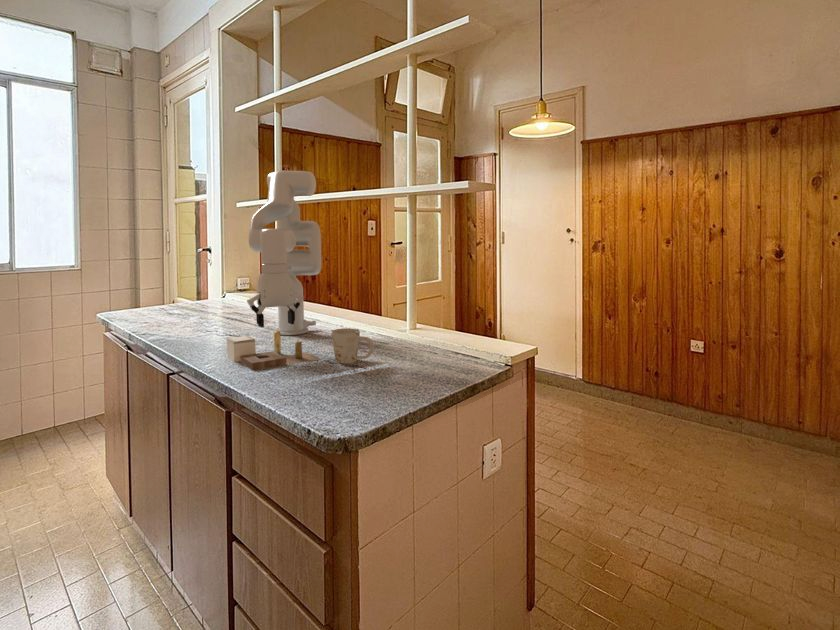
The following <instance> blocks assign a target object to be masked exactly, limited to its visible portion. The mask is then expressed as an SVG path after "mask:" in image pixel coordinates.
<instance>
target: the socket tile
mask: <svg viewBox="0 0 840 630" xmlns="http://www.w3.org/2000/svg"><path fill="white" fill-rule="evenodd" d="M284 356H285V355H282V354H278V353H276V352H274V351H273V350H271V351H265V352H258V353H257V352H256V354H250V355H243V356H240V361H239V362H240V363H241V365H244V366H245V367H247V368H248V369H249V370H251V371H256V370H257V371H258V370H262V369H270V368H275V367H281V366H287V364H288V363H287V359H286V357H284Z"/></svg>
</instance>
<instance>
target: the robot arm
mask: <svg viewBox="0 0 840 630" xmlns="http://www.w3.org/2000/svg"><path fill="white" fill-rule="evenodd" d="M316 181H317V180H316V177H315V175H314V173H313V172H312V171H308V170H307V171H305V170H277V171H273V172H270V173H269V174H268V175H267V177H266V183H267V188H268V189H267V190H268V191H267V200H266V204H264V205H263V206H261V208H259V209H258V210H257V211H256V212H255V213H254V214H253V216H252V217H251V219H250V223H249V231H248V245H249V248H250V249H251V250H252V251H253V252H255V253H260V262H261V263H260V265H261V274H258V277H257V278H258V279H257V285H256V294H255V295H253V296H251V297H250V298H248V299H246V303H247V304H248V306H249V308H250V309H251V310H252V311H253V312H254V313H255V314H256V316H255V317H256V325H257V326H258V327H260V328H264V326H265V318H264V317H265V315H264V314H263V312H264V311H265V310H266V308H277V310H278V311H277V313H278V314H277V315H278V327H277V328H274V331H280V335H281V336H297V335H304V334H306V333H309V326H311V327H312V326H316V325H317V321H316V320H307V319H305V310H304V309H305V308H304V306H305V305H304V287H303V284H302V282H301V281H300V280H299V279H298V278H297V277H296V276H316V275H319V274H320V273H321V271H322V234H321V232H322V231H321V229H320V226H319V224H318V222H316V221H313V220H301V207H300V206H299V205H300V204H298V202H297V201H296V200H295V197H311V196H314V194H315V193H316V190H317V189H316V188H317V182H316ZM275 222H276V224H277V225H276V228H275V227H274V228H272V227H271V228H268V227H267V228H266V226H267V225H269V224H271V223H275ZM295 247H307V248H308V249H295ZM255 301H256V304H257V305H258V306H256V305H255V303H254V302H255Z"/></svg>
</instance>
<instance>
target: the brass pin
mask: <svg viewBox="0 0 840 630" xmlns="http://www.w3.org/2000/svg"><path fill="white" fill-rule="evenodd" d="M281 336H282V335H280V331H275V330H274V331H273V346H274V347H273V348H274V349H273V350H274V352H276V353H278V354H280V355H282V344H281V343H282V341H281V340H282V338H281Z"/></svg>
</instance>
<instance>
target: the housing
mask: <svg viewBox="0 0 840 630" xmlns="http://www.w3.org/2000/svg"><path fill="white" fill-rule="evenodd" d="M226 352H227V353H226V354H227V355H226V356H227V358H228V359H229V360H231V361H232V362H234V363H236V362H237V363H238V362H240V356H243V355H250V354H257V352H256V339H255V338H253V337H252V336H249V335H241V336H233V337H227V338H226Z"/></svg>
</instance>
